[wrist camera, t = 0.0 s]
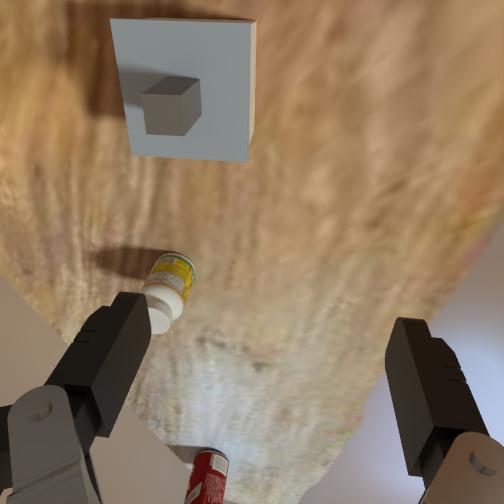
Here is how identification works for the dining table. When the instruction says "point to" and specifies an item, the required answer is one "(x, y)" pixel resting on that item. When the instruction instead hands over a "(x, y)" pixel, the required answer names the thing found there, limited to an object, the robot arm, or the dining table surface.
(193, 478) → the soda can
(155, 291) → the supplement bottle
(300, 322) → the dining table surface
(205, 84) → the lid
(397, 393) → the robot arm
